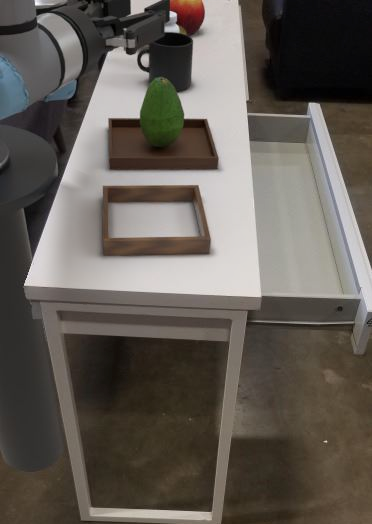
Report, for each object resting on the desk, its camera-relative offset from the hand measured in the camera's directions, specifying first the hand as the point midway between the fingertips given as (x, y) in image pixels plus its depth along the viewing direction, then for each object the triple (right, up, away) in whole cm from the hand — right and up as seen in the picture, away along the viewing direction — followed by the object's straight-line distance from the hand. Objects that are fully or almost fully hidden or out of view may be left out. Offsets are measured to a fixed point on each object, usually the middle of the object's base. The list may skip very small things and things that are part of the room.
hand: (147, 6), depth 84 cm
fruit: (+5, +39, +70) cm, 80 cm away
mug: (+1, +12, +45) cm, 47 cm away
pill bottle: (+1, +19, +52) cm, 55 cm away
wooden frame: (+1, -30, +6) cm, 31 cm away
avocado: (+1, -11, +23) cm, 26 cm away
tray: (+1, -11, +24) cm, 26 cm away
